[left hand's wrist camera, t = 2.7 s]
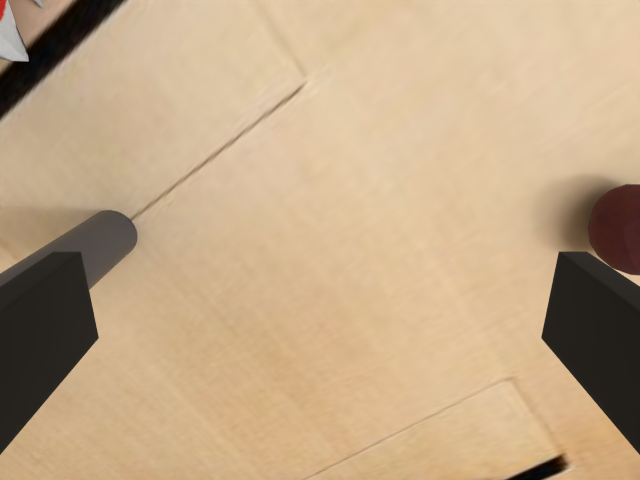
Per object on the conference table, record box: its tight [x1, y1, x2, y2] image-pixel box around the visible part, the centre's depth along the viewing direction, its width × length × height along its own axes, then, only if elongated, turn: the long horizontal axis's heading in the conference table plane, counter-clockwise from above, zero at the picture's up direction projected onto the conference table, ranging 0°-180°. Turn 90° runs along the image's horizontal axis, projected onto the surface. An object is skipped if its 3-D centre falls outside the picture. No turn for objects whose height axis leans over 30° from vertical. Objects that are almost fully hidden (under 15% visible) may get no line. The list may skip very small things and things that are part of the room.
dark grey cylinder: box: [0, 211, 137, 289], centre depth 32 cm, size 4×4×20 cm
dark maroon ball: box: [588, 185, 640, 275], centre depth 37 cm, size 7×8×7 cm
